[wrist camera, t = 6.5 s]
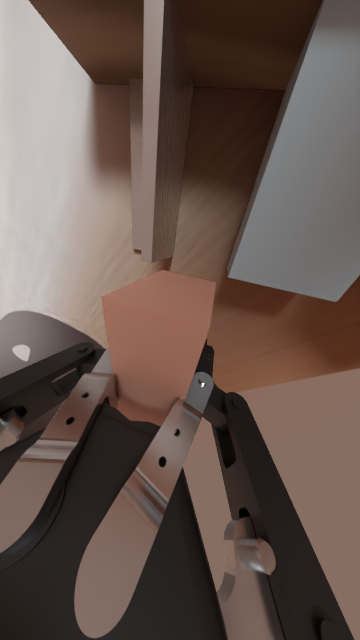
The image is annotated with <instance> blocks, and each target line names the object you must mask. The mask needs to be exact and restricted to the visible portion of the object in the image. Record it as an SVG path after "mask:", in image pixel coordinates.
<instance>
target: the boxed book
mask: <svg viewBox="0 0 360 640" xmlns="http://www.w3.org/2000/svg"><path fill="white" fill-rule="evenodd" d="M215 288H216V282H212V281H208V280H203V279H199V278H195V277H191V276H186V275H182V274H178V273H174V272H169V271H165V270H161V271H159V272H156V273H154V274H152V275H150V276H147V277H145V278H143V279H141V280H138V281H136V282H134V283H132V284H129V285H127V286H125V287H123V288H120V289H118V290H116V291H114V292H112V293H109V294H107V295H105V296H103V297H101V299H102V305H103V312H104V318H105V325H106V331H107V338H108V345H109V351H110V358H111V364H112V371H113V373H116V378H117V379H116V382H115V390H116V393H117V394H119V400H118V410H119V411H120V412H121V413H122V414H123V415H124V416H125V417H127V418H128V419H129V420H131V421H144V422H151V423H153V424H156V425H158V426H162V424H163V423H164V421H165V419H166V418H167V416H168V414H169V413H170V411H171V410H172V408H173V406H174V405H175V403H176V402H177V400H178V399H180V398H184V399H186V396H187V393H188V390H189V387H190V384H191V381H192V379H193V376H194V373H195V370H196V367H197V364H198V361H199V358H200V355H201V352H202V349H203V347H204V344H205V341H206V338H207V335H208V332H209V329H210V324H211V316H212V309H213V302H214V295H215Z"/></svg>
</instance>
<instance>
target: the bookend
mask: <svg viewBox="0 0 360 640" xmlns="http://www.w3.org/2000/svg"><path fill="white" fill-rule="evenodd" d="M193 89H194V85H193V79H192V74H191V68H190V63H189V57H188V52H187V46H186V41H185V35H184V30H183V24H182V19H181V13H180V8H179V2H178V0H144V47H143V79H129V90H130V141H131V191H132V242H133V249H137V250H141V261H145V262H150V263H153V262H156V261H160V260H163V259H167V258H170V257H173V251H174V243H175V235H176V227H177V219H178V211H179V202H180V194H181V186H182V178H183V170H184V162H185V154H186V146H187V138H188V130H189V122H190V113H191V105H192V97H193Z"/></svg>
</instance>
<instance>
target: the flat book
mask: <svg viewBox="0 0 360 640" xmlns="http://www.w3.org/2000/svg"><path fill="white" fill-rule="evenodd" d="M227 274H228V278H233V279H237V280H241V281H246V282H250V283H255V284H259V285H263V286H268V287H272V288H276V289H281V290H285V291H290V292H294V293H298V294H303V295H307V296H311V297H316V298H320V299H325V300H329V301H333V302H337V301H338V300H339V299H340V297H341V296H342V295H343V294H344V293H345V292H346V290H347V289H348V288H349V287H350V286H351V285H352V283H353V282H354V281H355V280H356V279H357V277H358V276H359V275H360V0H323V1H322V4H321V6H320V8H319V11H318V13H317V16H316V18H315V20H314V23H313V25H312V28H311V30H310V33H309V35H308V37H307V40H306V42H305V45H304V47H303V49H302V52H301V54H300V57H299V59H298V61H297V64H296V66H295V69H294V71H293V73H292V76H291V78H290V81H289V83H288V85H287V88H286V90H285V93H284V96H283V99H282V102H281V105H280V108H279V111H278V114H277V118H276V121H275V124H274V127H273V130H272V133H271V136H270V139H269V142H268V145H267V148H266V151H265V154H264V157H263V160H262V163H261V166H260V169H259V172H258V175H257V178H256V181H255V184H254V187H253V190H252V193H251V196H250V199H249V202H248V205H247V208H246V211H245V214H244V217H243V220H242V223H241V226H240V229H239V232H238V235H237V239H236V242H235V245H234V248H233V251H232V254H231V257H230V260H229V263H228V266H227Z"/></svg>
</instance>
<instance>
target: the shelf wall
mask: <svg viewBox="0 0 360 640" xmlns="http://www.w3.org/2000/svg"><path fill="white" fill-rule="evenodd" d="M29 1H30V2H31V4H32V5H33V6H34V8H35V9H36V10H37V11H38V13H39V14H40V15H41V16H42V18H43V19H44V20H45V21H46V23H47V24H48V25H49V26H50V28H51V29H52V30H53V31H54V33H55V34H56V35H57V36H58V38H59V39H60V40H61V41H62V43H63V44H64V45H65V46H66V48H67V49H68V50H69V51H70V53H71V54H72V55H73V56H74V58H75V59H76V60H77V61H78V63H79V64H80V65H81V66H82V68H83V69H84V70H85V71H86V73H87V74H88V75H89V76H90V78H91V79H92V80H93V81H94V83H98V84H128V85H129V79H143V47H144V0H29ZM322 1H323V0H178V2H179V8H180V13H181V19H182V24H183V30H184V35H185V41H186V46H187V52H188V57H189V63H190V68H191V74H192V79H193V85H194V87H218V88H248V89H278V90H286V88H287V85H288V83H289V81H290V78H291V76H292V73H293V71H294V69H295V66H296V64H297V61H298V59H299V57H300V54H301V52H302V49H303V47H304V45H305V42H306V40H307V37H308V35H309V33H310V30H311V28H312V25H313V23H314V20H315V18H316V16H317V13H318V11H319V8H320V6H321V4H322Z"/></svg>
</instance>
